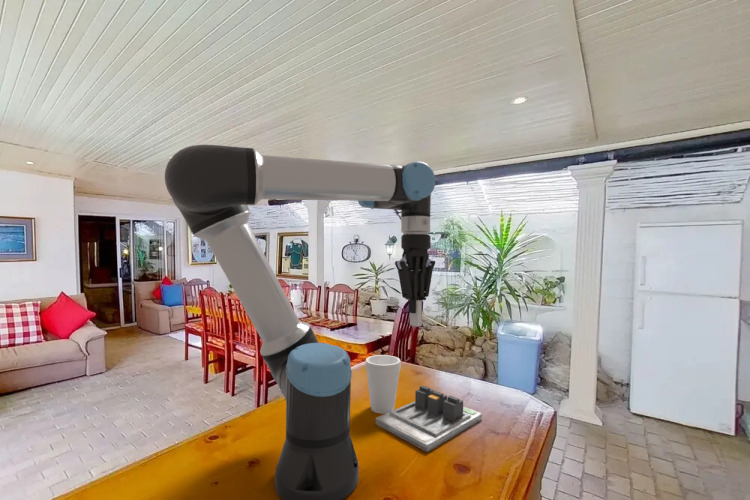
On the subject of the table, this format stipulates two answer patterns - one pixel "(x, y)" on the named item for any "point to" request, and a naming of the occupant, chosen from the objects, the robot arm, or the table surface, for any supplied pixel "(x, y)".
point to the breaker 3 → (452, 408)
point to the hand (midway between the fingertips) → (415, 325)
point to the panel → (425, 425)
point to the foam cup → (382, 382)
